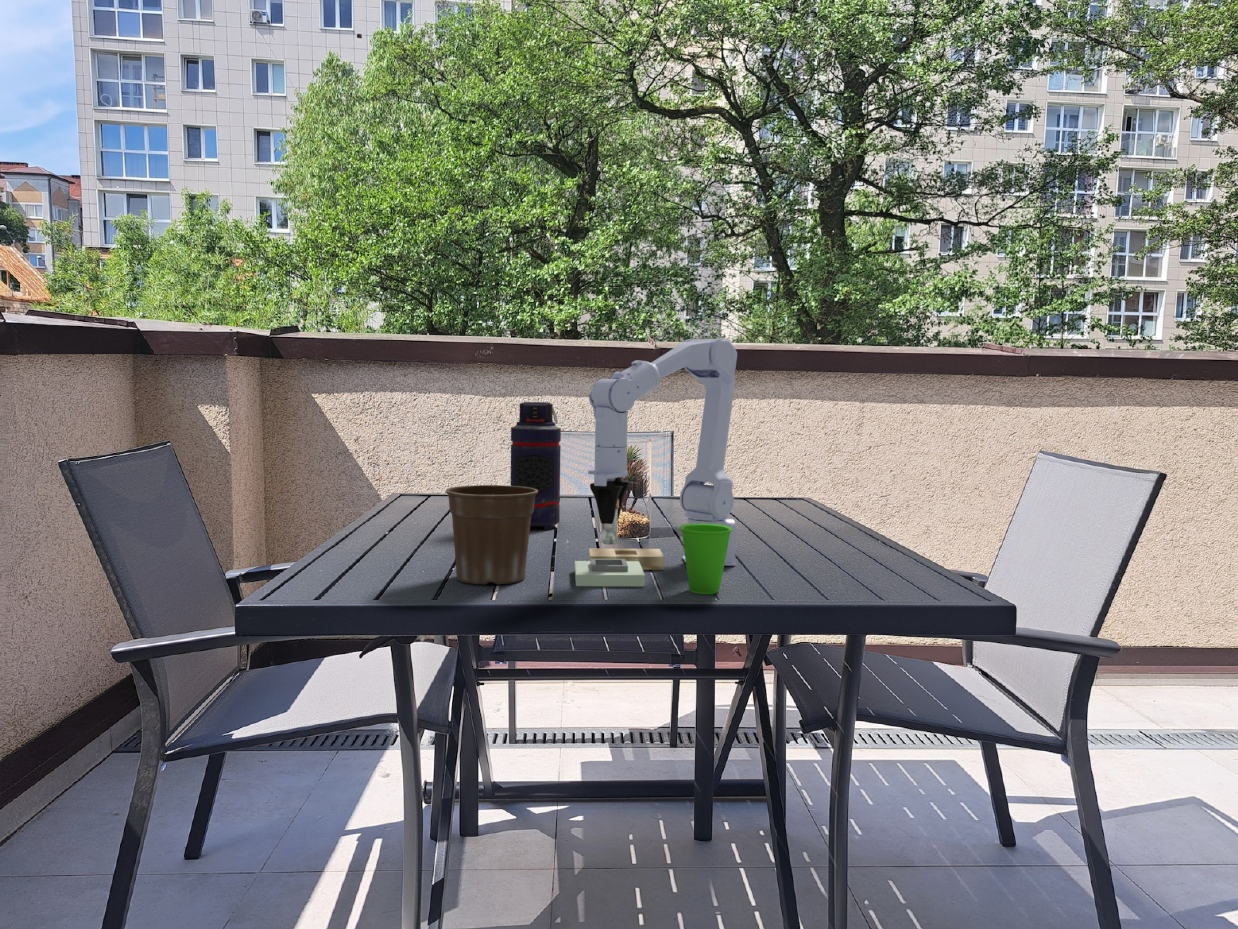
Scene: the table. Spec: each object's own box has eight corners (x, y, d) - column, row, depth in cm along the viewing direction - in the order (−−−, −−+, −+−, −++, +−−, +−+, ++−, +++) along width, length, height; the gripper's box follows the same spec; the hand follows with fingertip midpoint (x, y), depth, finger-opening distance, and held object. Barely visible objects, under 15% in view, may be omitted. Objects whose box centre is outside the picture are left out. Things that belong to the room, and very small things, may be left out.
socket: (638, 571, 171) (638, 556, 170) (644, 586, 159) (645, 569, 158) (574, 571, 170) (574, 555, 169) (576, 586, 158) (576, 569, 157)
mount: (659, 561, 181) (659, 548, 181) (663, 569, 173) (664, 556, 173) (588, 560, 180) (589, 548, 180) (590, 569, 172) (590, 556, 172)
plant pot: (481, 565, 174) (482, 481, 172) (553, 575, 166) (555, 487, 165) (426, 581, 159) (426, 490, 158) (502, 593, 152) (503, 497, 150)
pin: (617, 540, 166) (618, 497, 165) (618, 544, 162) (619, 500, 161) (598, 540, 165) (599, 497, 164) (599, 544, 162) (600, 500, 161)
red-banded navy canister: (558, 531, 214) (559, 403, 211) (507, 530, 213) (508, 402, 211) (560, 522, 227) (562, 402, 225) (513, 521, 227) (514, 401, 224)
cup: (739, 595, 153) (741, 531, 152) (688, 598, 151) (690, 532, 150) (718, 583, 162) (720, 522, 161) (670, 586, 159) (672, 524, 158)
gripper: (600, 442, 170) (598, 514, 171) (577, 448, 156) (576, 526, 157) (636, 444, 168) (635, 516, 169) (617, 449, 154) (616, 529, 155)
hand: (609, 521), depth 163 cm, fingers closed on pin, 3 cm apart
